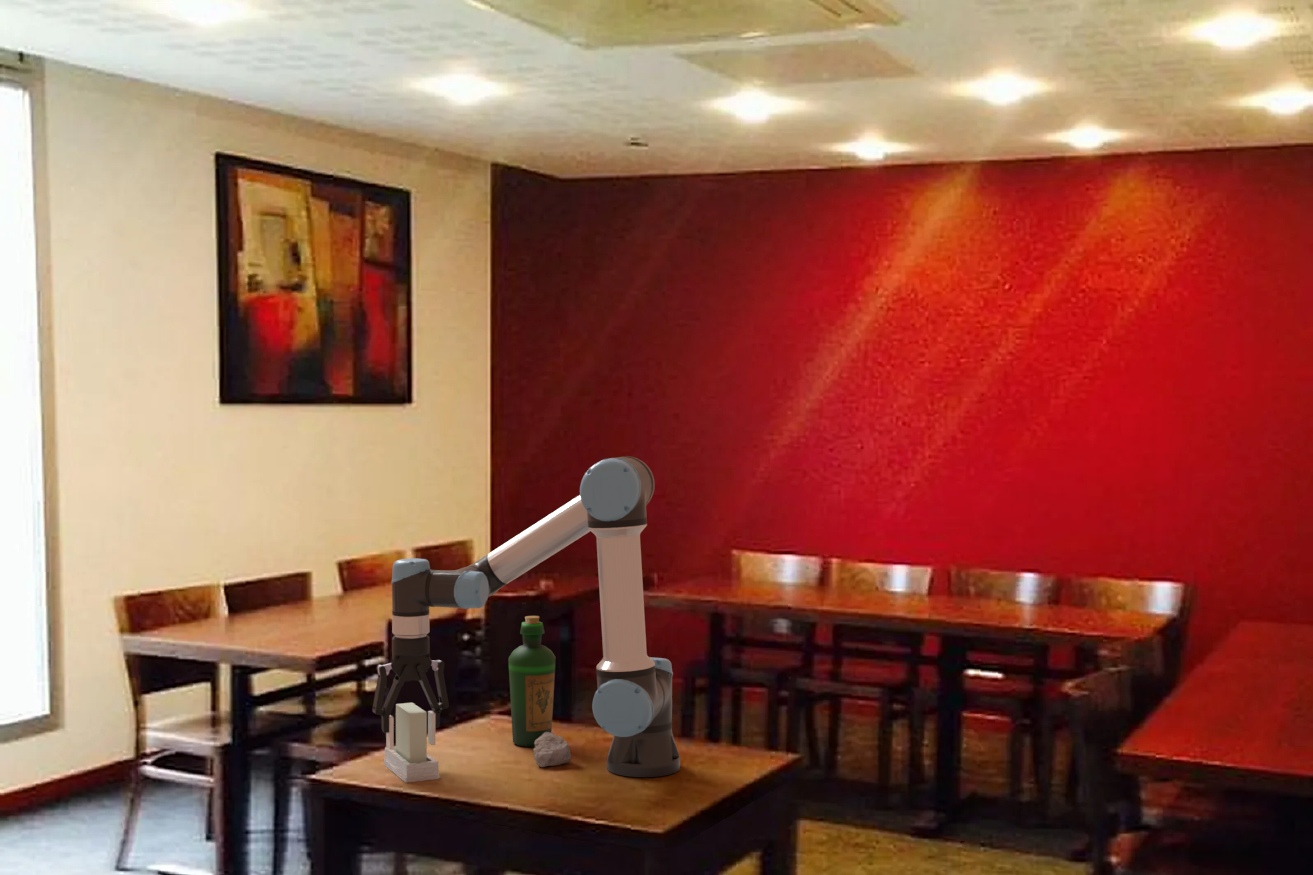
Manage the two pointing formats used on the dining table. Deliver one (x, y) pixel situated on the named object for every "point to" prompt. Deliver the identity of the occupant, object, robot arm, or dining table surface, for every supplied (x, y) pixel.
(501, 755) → the dining table surface
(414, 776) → the shallow open box
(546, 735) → the stone
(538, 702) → the bottle
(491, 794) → the dining table surface
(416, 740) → the rectangular block
